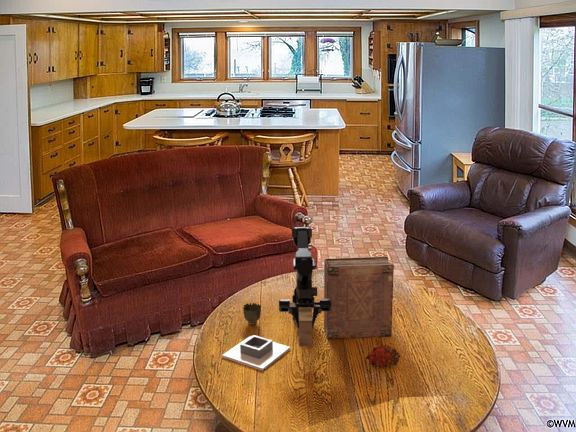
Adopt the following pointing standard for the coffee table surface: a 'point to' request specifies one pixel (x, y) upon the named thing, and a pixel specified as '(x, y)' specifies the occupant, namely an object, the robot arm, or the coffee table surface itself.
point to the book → (358, 297)
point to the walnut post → (305, 326)
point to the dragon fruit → (383, 356)
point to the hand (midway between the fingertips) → (305, 328)
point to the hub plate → (256, 352)
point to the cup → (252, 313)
